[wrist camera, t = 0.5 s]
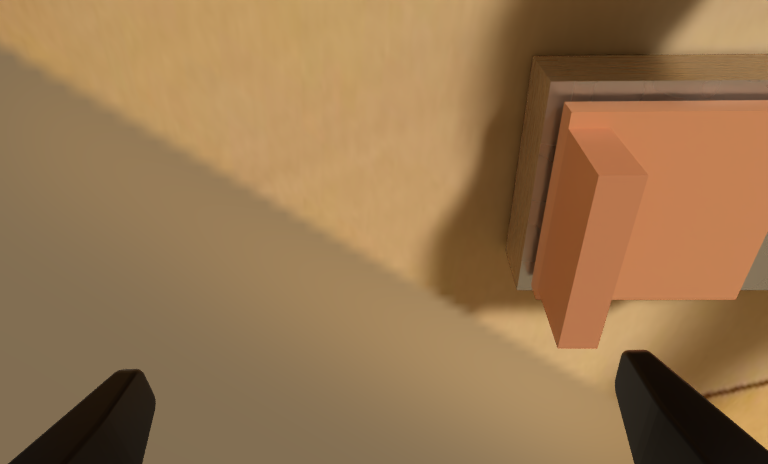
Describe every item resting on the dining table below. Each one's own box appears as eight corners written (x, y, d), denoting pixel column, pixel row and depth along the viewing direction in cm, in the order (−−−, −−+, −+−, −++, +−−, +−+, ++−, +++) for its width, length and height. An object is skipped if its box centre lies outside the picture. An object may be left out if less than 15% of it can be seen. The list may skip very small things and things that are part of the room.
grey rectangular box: (946, 52, 18) (1018, 77, 16) (834, 250, 22) (879, 289, 20) (532, 56, 18) (551, 81, 16) (505, 250, 22) (516, 290, 20)
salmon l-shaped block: (806, 100, 16) (901, 155, 13) (724, 285, 20) (782, 360, 17) (564, 101, 16) (603, 156, 13) (531, 285, 20) (555, 359, 17)
